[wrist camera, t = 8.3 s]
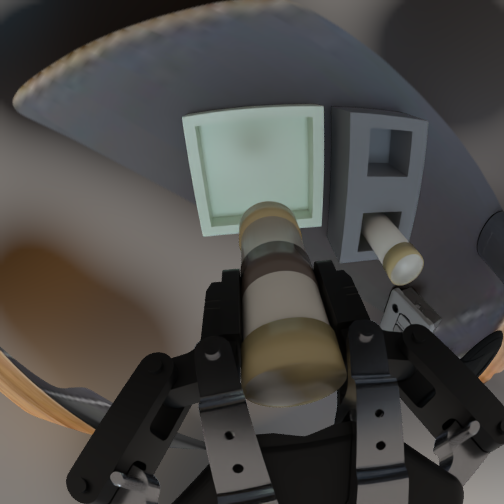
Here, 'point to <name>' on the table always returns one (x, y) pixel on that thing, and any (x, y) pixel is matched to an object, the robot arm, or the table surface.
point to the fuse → (391, 248)
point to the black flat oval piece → (483, 353)
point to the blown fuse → (283, 315)
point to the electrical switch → (408, 312)
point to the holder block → (372, 174)
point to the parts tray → (256, 162)
